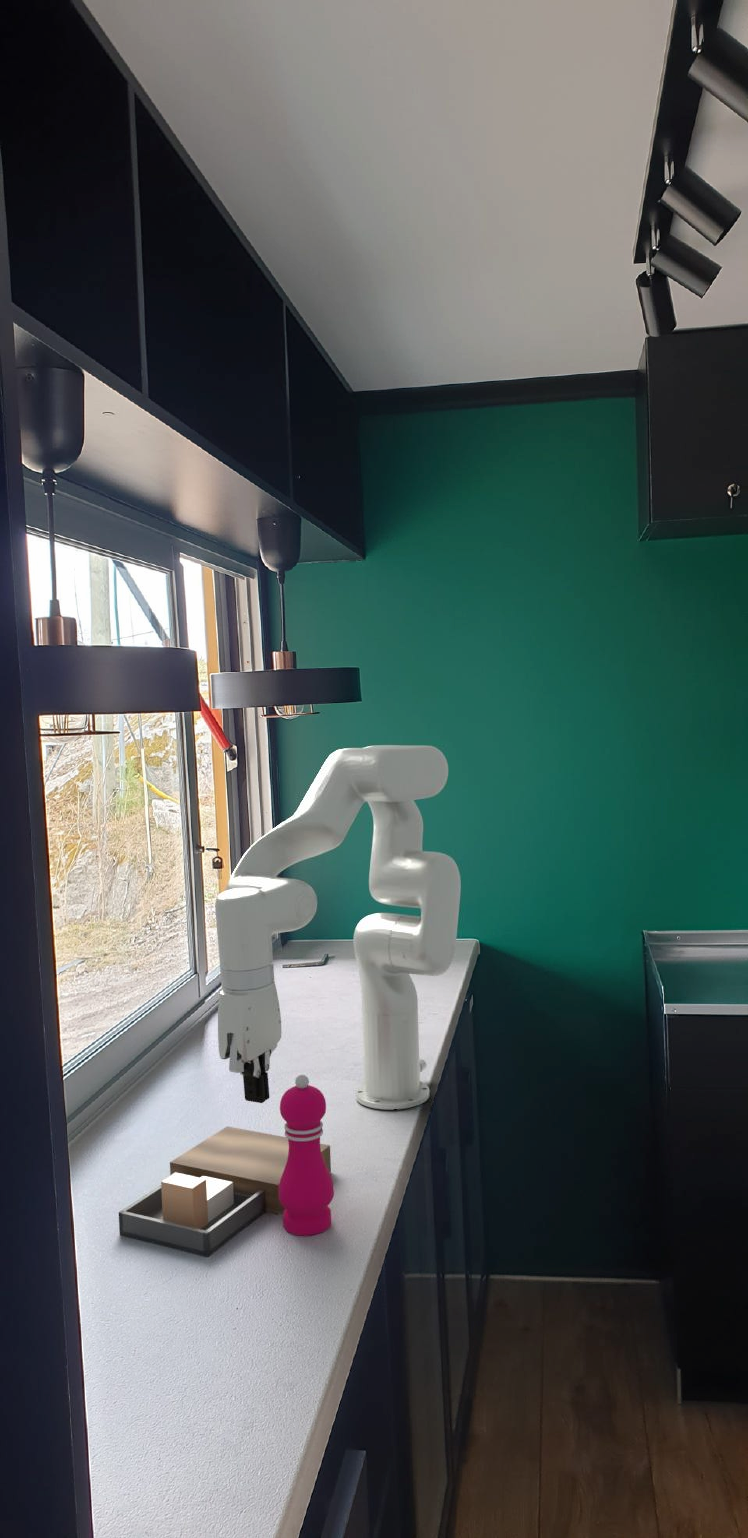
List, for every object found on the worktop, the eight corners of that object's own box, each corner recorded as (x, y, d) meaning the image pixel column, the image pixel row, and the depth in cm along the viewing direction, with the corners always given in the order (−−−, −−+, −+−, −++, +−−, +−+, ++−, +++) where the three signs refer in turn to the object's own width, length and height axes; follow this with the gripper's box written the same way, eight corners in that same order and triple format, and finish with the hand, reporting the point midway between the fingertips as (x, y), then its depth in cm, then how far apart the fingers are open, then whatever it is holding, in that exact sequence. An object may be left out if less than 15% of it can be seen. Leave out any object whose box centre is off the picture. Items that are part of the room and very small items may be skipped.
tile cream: (203, 1196, 153) (202, 1175, 153) (233, 1203, 151) (233, 1181, 151) (176, 1215, 148) (175, 1193, 148) (207, 1222, 146) (206, 1200, 145)
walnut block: (228, 1151, 170) (227, 1126, 169) (330, 1172, 161) (330, 1145, 161) (171, 1189, 157) (169, 1162, 157) (279, 1213, 149) (278, 1184, 149)
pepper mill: (305, 1206, 151) (300, 1062, 149) (346, 1221, 146) (341, 1072, 145) (268, 1227, 145) (262, 1077, 144) (308, 1243, 141) (303, 1089, 139)
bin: (181, 1193, 156) (180, 1172, 156) (265, 1211, 150) (264, 1190, 149) (119, 1234, 145) (118, 1212, 144) (207, 1256, 138) (206, 1233, 138)
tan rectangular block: (175, 1172, 147) (161, 1181, 145) (206, 1178, 145) (192, 1188, 142) (177, 1216, 148) (163, 1226, 145) (208, 1223, 146) (194, 1233, 143)
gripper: (254, 959, 166) (263, 1076, 168) (194, 989, 153) (205, 1117, 155) (297, 963, 163) (306, 1083, 165) (239, 994, 150) (250, 1125, 152)
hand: (257, 1099), depth 160 cm, fingers closed
